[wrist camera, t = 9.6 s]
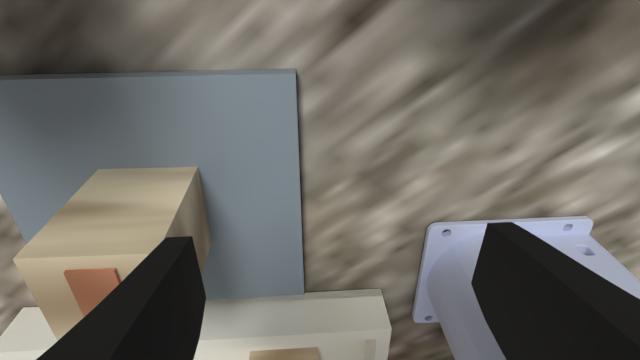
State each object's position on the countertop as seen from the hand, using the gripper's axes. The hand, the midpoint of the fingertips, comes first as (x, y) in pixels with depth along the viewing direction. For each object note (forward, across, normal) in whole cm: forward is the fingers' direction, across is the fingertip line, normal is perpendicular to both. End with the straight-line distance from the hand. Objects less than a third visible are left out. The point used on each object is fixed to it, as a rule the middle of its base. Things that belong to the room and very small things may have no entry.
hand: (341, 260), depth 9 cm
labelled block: (+9, +8, +4) cm, 12 cm away
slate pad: (+9, +8, +4) cm, 13 cm away
